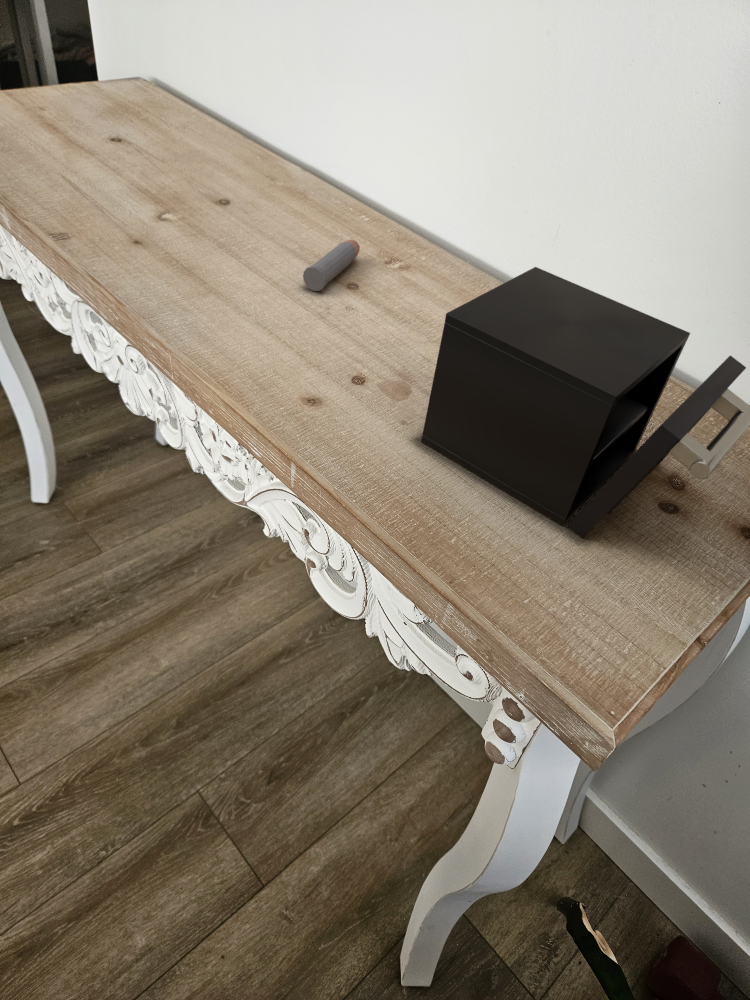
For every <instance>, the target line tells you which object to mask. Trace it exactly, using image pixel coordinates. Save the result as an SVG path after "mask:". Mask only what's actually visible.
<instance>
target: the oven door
mask: <svg viewBox="0 0 750 1000" xmlns="http://www.w3.org/2000/svg"><path fill="white" fill-rule="evenodd" d="M746 369H747V367H746V365H744V364H743V363H741V362H740V361H739V360H737V359H736V358H735V357H733V356H732V355H729V356H728V357H726V359H725V360H723V362H722V363H721V364H720V365H719V366H718V367H717V368H716V369H715V370H713V372H712V373H711V374H710V375H709V376H708V377H707V378H705V380H704V381H703V382H702V383H701V384H700V385H699V386H698V387H697V388H696V389H695V390H694V391H693V392H692V393H691V394H690V395H689V396H688V397H687V398H686V399H685V400H684V401H683V402H682V403H681V404H680V405H679V406H678V407H677V408H676V409H675V410H674V411H673V412H672V413H671V414H670V415H669V416H668V417H667V418H666V419H665V420H664V421H663V422H662V423H661V424H660V425H659V426H658V427H657V428H656V430H654V432H653V433H652V434H651V435H650V436H649V437H648V438H647V439H646V440H645V442H643V443H642V444H641V446H640V447H639V448H637V449H636V451H635V453H634V454H633V455H632V456H631V458H630V459H629V460H628V461H627V462H626V463H625V464H624V465H623V466H622V467H621V468H620V469H619V470H618V471H617V472H616V473H615V474H614V475H613V476H612V477H611V478H610V479H609V480H608V481H607V482H606V483H605V484H604V485H603V486H602V487H601V488H600V489H599V490H598V491H597V492H596V493H595V494H594V495H593V496H592V497H591V498H590V499H589V500H588V501H587V503H586V504H585V505H584V506H583V507H582V508H581V509H580V511H579V512H577V513H576V515H574V516H573V517H572V519H571V521H570V522H568V523H567V527H569V529H570V530H572V531H573V532H574V533H575V534H576V535H577V536H578V537H580V539H584V537H586V536H587V534H589V532H590V531H591V530H592V529H594V528H595V526H596V525H597V524H598V523H599V522H601V520H603V518H604V517H605V516H606V515H607V514H608V515H610V514H611V513H612V512H613V511H614V510H615V509H616V508H617V507H618V506H619V505H620V504H621V503H622V502H623V501H624V500H625V499H626V498H627V497H628V496H629V495H630V494H631V493H632V492H633V491H635V489H636V488H637V487H638V486H639V485H640V484H641V483H642V482H643V481H644V480H645V479H646V478H647V477H648V476H649V475H650V474H651V473H652V472H653V471H654V470H655V469H656V468H657V467H658V466H659V465H660V464H661V463H662V462H663V461H664V460H665V459H666V458H667V457H668V456H669V455H671V456H672V457H673V458H675V459H676V460H677V461H678V462H679V463H681V464H682V465H683V466H684V467H685V468H687V469H688V470H689V472H690V474H691V476H692V477H693V478H695V479H698V480H705V479H708V478H709V477H710V476H711V475H712V473H713V472H714V471H715V469H716V468H717V467H718V466H719V465H720V463H721V462H722V461H723V460H724V458H726V456H727V454H729V452H730V451H731V450H732V448H733V447H734V446H735V444H736V443H738V440H739V439H741V437H742V436H743V434H745V432H746V431H747V430H748V428H749V427H750V404H748V403H747V402H746V401H744V400H743V399H742V398H741V397H739V395H737V394H735V393H734V392H733V391H732V390H730V389H729V387H731V385H732V384H733V383H734V382H735V381H736V380H737V379H738V377H739V376H740V375H742V373H743V372H744V371H745V370H746ZM711 409H712V410H714V411H715V412H716V413H718V414H719V415H720V416H722V418H724V419H725V420H727V422H726V424H724V425H723V427H722V428H721V429H720V431H719V432H718V433H717V434H716V436H714V437H713V439H712V440H711V441H710V442H709V444H707V446H704V445H703V444H702V443H700V441H698V440H697V439H696V438H694V437H693V436H692V435H691V434H689V433H690V432H691V430H693V429H694V427H695V426H697V424H698V423H699V422H700V421H701V420H702V419H703V417H704V416H705V415H707V414H708V412H709V411H710V410H711Z"/></svg>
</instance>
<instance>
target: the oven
mask: <svg viewBox="0 0 750 1000" xmlns="http://www.w3.org/2000/svg"><path fill="white" fill-rule="evenodd" d="M690 335H691V332H689V331H687V330H684V329H682V328H680V327H677V326H675V325H673V324H670V323H668V322H665V321H663V320H661V319H658V318H656V317H654V316H652V315H649V314H647V313H644V312H643V311H640V310H638V309H635V308H633V307H631V306H628V305H627V304H624V303H622V302H619V301H617V300H614V299H612V298H610V297H607V296H605V295H602V294H600V293H598V292H595V291H593V290H591V289H589V288H587V287H584V286H582V285H580V284H577V283H575V282H573V281H570V280H568V279H565V278H563V277H561V276H558V275H556V274H553V273H551V272H548V271H547V270H544V269H542V268H539V267H538V266H534V267H532V268H530V269H529V270H526V271H525V272H523V273H521V274H519V275H517V276H515V277H514V278H512V279H509V280H508V281H505V282H504V283H501V284H499V285H497V286H496V287H494V288H491V289H490V290H488V291H486V292H484V293H482V294H480V295H479V296H476V297H475V298H473V299H471V300H469V301H467V302H464V304H462V305H459V306H457V307H456V308H454V309H451V310H450V311H447V312H446V313H445V317H444V323H443V329H442V334H441V339H440V343H439V348H438V354H437V359H436V364H435V369H434V375H433V379H432V386H431V388H430V393H429V400H428V403H427V409H426V415H425V420H424V425H423V429H422V436H421V440H420V443H422V444H424V445H425V446H427V447H429V448H430V449H433V450H434V451H436V452H438V453H439V454H441V455H442V456H444V457H446V458H447V459H449V460H451V461H453V463H455V464H458V465H459V466H461V467H463V468H464V469H465V470H468V471H469V472H472V474H474V475H476V476H478V477H479V478H481V479H482V480H483V481H485V482H487V483H489V484H491V485H492V486H494V487H496V488H498V489H499V490H501V491H503V492H504V493H506V494H508V495H509V496H511V497H512V498H514V499H517V500H518V501H520V502H521V503H523V504H524V505H526V506H528V507H530V508H531V509H532V510H535V511H536V512H538V513H540V514H541V515H543V516H544V517H546V518H548V519H550V520H551V521H553V522H555V523H557V524H558V525H559V526H561V527H564V526H565V525H566V524H568V523H569V521H570V520H572V518H573V517H574V516H575V514H577V513H578V511H579V510H581V509H582V508H583V507H584V506H585V505H586V504H587V503H588V502H589V501H590V500H591V499H592V498H593V497H594V496H595V495H596V494H597V493H598V492H599V491H600V490H601V489H602V487H603V486H604V485H605V484H606V483H607V482H608V481H609V480H610V479H611V478H612V477H613V476H614V475H615V474H616V473H617V471H618V470H619V469H620V468H621V467H622V466H623V465H624V464H625V463H626V462H627V461H628V460H629V459H630V458H631V456H632V455H633V454H634V453H635V452H636V451H637V449H638V447H639V445H640V442H641V440H642V438H643V436H644V434H645V432H646V429H647V427H648V425H649V423H650V422H651V419H652V417H653V415H654V412H655V410H656V408H657V406H658V403H659V401H660V399H661V397H662V395H663V394H664V390H665V389H666V387H667V384H668V383H669V380H670V378H671V377H672V374H673V372H674V369H675V367H676V365H677V363H678V361H679V358H680V357H681V354H682V353H683V350H684V348H685V345H686V343H687V341H688V340H689V337H690Z"/></svg>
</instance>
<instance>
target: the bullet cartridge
mask: <svg viewBox="0 0 750 1000" xmlns="http://www.w3.org/2000/svg"><path fill="white" fill-rule="evenodd" d="M359 253H360V244H359V243H358V241H356V240H355V239H347V240H345V241H342V242H340V243H338V244H337V245H336V246H334V247H333V248H332V249H331V250H330V251H328V252H327V253H326V254H325V255H323V256H322V257H321V258H320V259H318V260H317V261H315V262H314V263H313V264H312V265H309V266H308V267H306V268H305V269H304V270H303V273H302V279H303V282H304V284H305V286H306V287H307V288H308V289H309V290H311V291H313V292H319V291H322V290H323V289H324V288H325V287H326V285H327V284H329V282H331V281H332V280H333V279H334V278H335V277H336V276H338V275H339V274H340V273H341V272H342V271H344V270H345V269H346V268H347V267H348V266H349V265H350V264H351V263H353V262H354V261H355V260H356V258H357V257H358V255H359Z"/></svg>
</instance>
